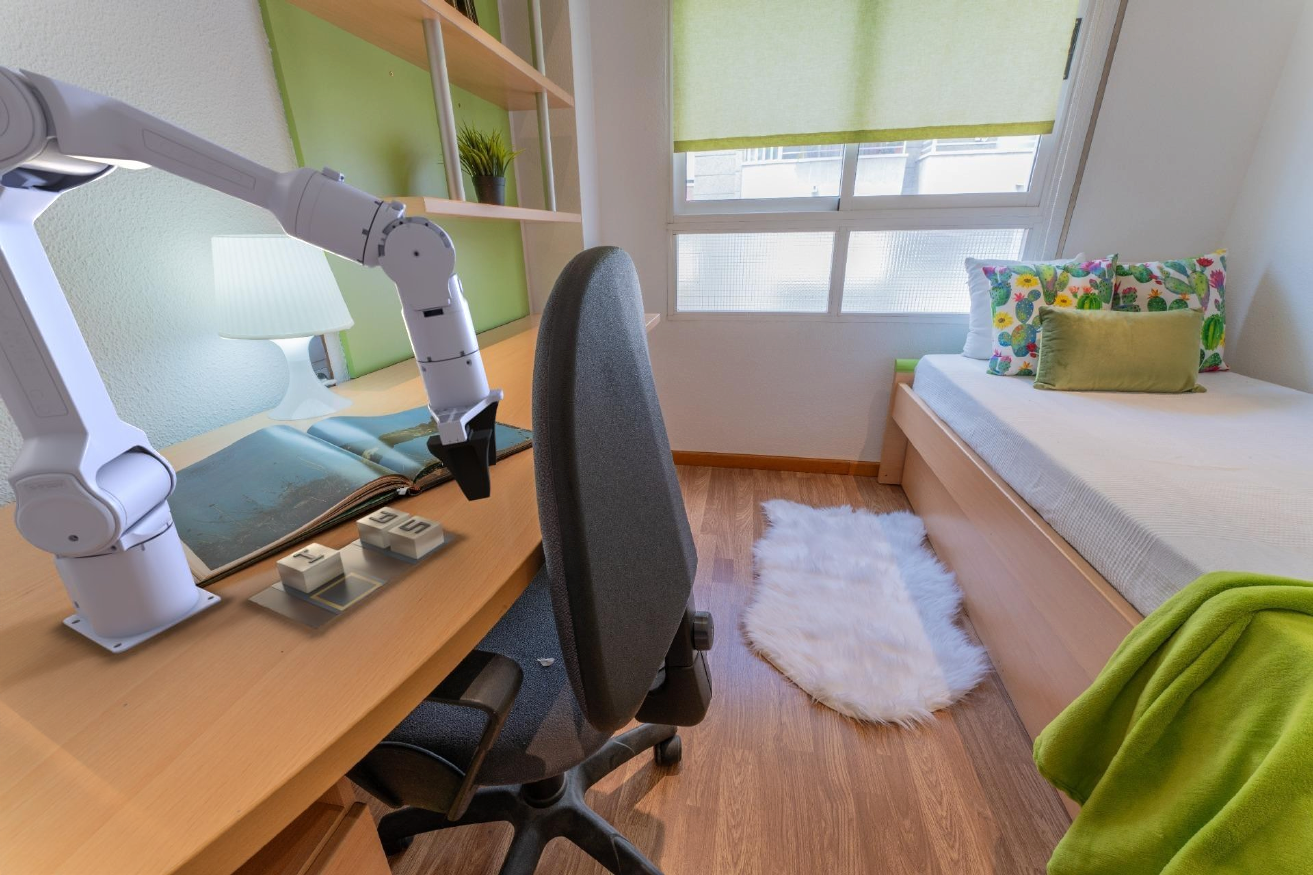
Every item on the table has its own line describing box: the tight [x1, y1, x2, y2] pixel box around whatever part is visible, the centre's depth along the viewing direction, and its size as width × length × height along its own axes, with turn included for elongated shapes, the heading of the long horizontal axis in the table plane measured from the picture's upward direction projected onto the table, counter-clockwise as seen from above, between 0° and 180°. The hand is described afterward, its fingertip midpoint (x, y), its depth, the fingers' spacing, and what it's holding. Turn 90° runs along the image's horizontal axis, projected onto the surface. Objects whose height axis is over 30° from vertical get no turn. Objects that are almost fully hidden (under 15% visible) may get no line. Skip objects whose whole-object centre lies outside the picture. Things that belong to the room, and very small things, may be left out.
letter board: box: [247, 529, 460, 630], centre depth 57 cm, size 10×18×1 cm, turn 156°
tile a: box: [356, 506, 411, 549], centre depth 61 cm, size 4×4×3 cm
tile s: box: [388, 515, 444, 559], centre depth 60 cm, size 4×4×3 cm
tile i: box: [275, 542, 344, 593], centre depth 54 cm, size 4×4×3 cm
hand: (483, 480), depth 54 cm, fingers open, 7 cm apart
